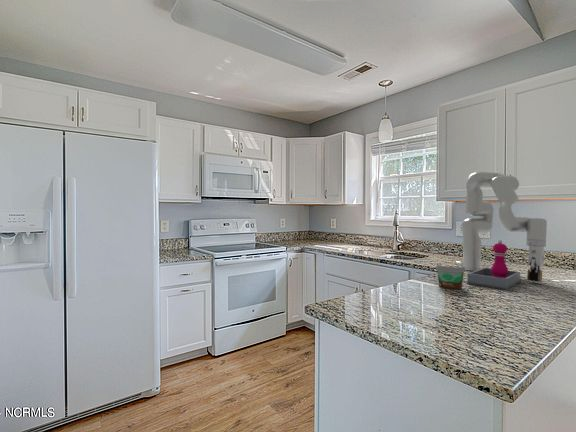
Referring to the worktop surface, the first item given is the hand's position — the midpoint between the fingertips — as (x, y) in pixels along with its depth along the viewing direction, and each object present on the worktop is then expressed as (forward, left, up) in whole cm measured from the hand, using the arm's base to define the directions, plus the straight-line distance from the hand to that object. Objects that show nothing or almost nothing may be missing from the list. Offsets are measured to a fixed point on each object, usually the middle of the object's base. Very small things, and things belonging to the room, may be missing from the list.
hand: (534, 279), depth 152 cm
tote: (-14, -15, -2) cm, 20 cm away
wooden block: (0, 0, -1) cm, 1 cm away
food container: (-24, -44, -2) cm, 50 cm away
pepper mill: (-13, -9, -1) cm, 16 cm away
